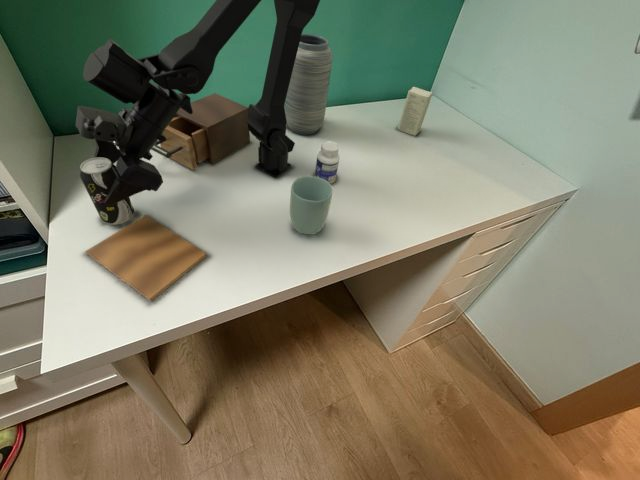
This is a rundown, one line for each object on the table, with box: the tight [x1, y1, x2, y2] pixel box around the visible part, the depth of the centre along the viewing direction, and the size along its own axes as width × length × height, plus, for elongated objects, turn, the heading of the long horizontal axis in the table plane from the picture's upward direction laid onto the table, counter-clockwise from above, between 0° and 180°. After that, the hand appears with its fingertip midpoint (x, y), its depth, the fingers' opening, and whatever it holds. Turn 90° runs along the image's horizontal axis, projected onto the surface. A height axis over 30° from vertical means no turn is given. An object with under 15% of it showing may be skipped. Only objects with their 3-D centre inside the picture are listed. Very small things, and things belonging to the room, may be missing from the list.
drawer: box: [150, 116, 209, 171], centre depth 76 cm, size 17×10×8 cm, turn 148°
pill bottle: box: [314, 140, 340, 184], centre depth 77 cm, size 5×5×9 cm
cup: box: [289, 175, 333, 235], centre depth 64 cm, size 8×8×10 cm
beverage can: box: [79, 157, 135, 226], centre depth 59 cm, size 6×6×12 cm
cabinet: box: [173, 92, 251, 165], centre depth 81 cm, size 14×11×10 cm
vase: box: [284, 33, 334, 135], centre depth 88 cm, size 12×12×23 cm
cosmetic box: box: [397, 86, 433, 137], centre depth 98 cm, size 6×4×12 cm
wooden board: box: [85, 214, 208, 302], centre depth 58 cm, size 16×12×1 cm
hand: (99, 189), depth 58 cm, fingers open, 9 cm apart
